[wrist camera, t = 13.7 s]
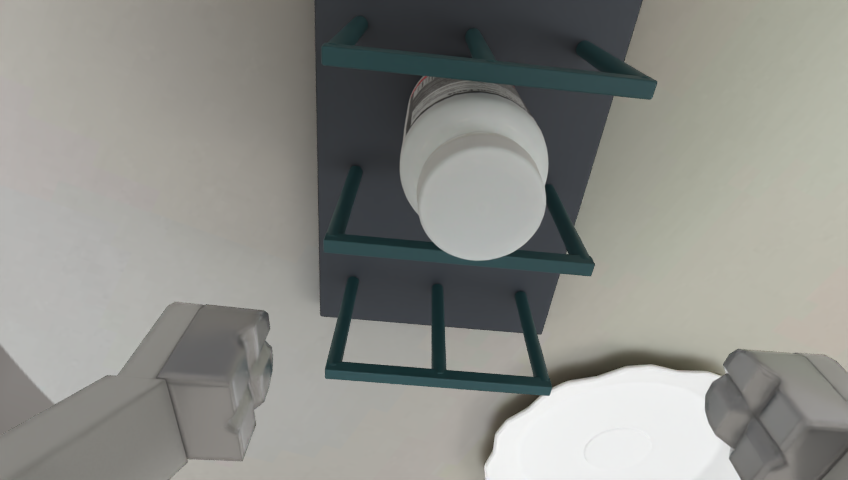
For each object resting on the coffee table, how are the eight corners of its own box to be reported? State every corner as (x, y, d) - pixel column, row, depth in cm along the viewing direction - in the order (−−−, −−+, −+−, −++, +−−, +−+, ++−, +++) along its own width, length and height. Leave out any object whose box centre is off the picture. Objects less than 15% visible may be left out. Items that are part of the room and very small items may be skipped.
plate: (447, 394, 35) (448, 413, 34) (751, 316, 31) (767, 333, 29) (523, 537, 45) (526, 556, 44) (761, 492, 41) (773, 511, 39)
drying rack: (318, -61, 20) (257, -66, 13) (639, -24, 21) (750, -9, 14) (323, 304, 31) (290, 414, 24) (538, 322, 31) (570, 435, 24)
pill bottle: (504, 173, 25) (541, 289, 16) (400, 158, 24) (384, 269, 16) (532, 64, 22) (594, 138, 13) (415, 46, 21) (405, 109, 13)
